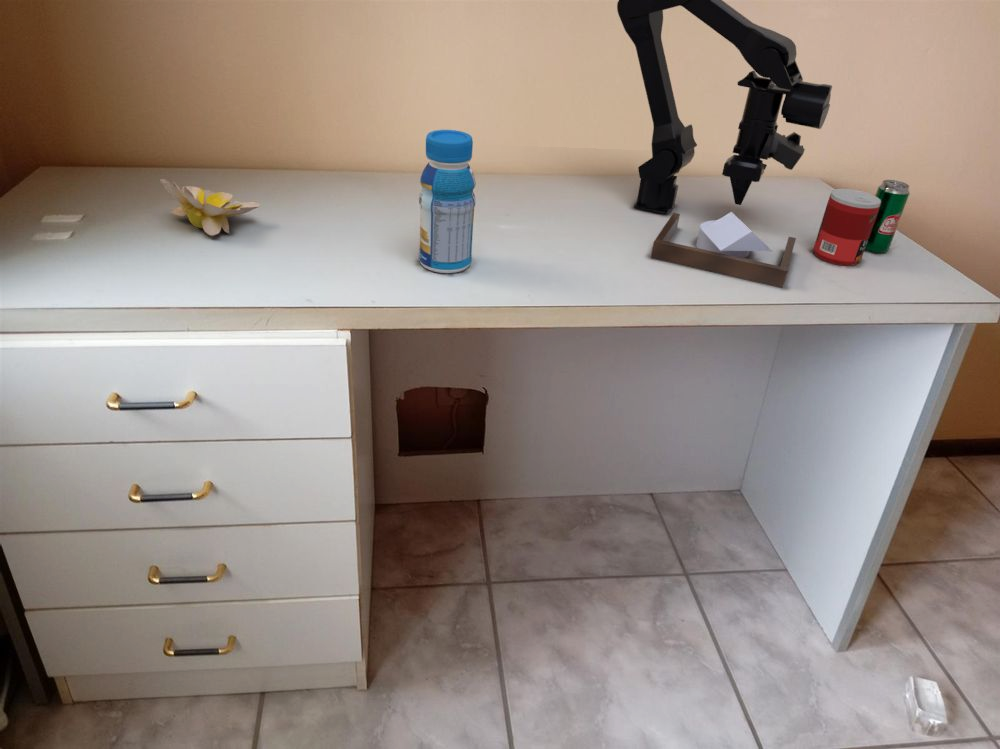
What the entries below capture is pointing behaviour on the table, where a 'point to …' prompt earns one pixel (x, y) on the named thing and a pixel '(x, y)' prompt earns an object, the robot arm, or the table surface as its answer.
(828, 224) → the canned food
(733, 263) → the bay
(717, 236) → the wedge on round base
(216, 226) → the decorative flower
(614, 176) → the table surface
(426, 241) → the beverage bottle
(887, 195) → the soda can
